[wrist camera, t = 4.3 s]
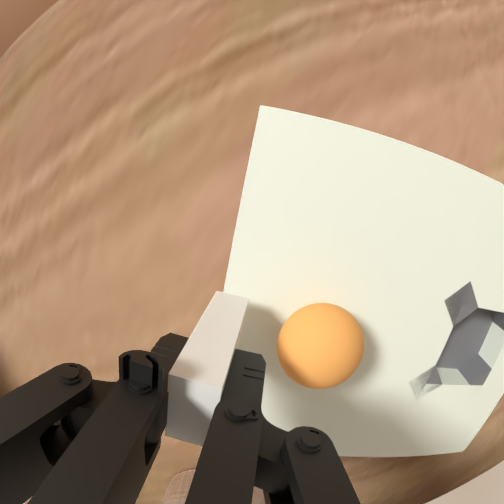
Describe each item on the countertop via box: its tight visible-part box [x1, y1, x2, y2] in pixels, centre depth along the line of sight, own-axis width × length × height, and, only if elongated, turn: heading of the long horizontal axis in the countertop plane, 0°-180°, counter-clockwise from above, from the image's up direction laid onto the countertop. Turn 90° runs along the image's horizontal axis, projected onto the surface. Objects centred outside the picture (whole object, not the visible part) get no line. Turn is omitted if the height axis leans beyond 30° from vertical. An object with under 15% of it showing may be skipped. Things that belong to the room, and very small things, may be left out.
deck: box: [224, 105, 504, 457], centre depth 16 cm, size 22×20×2 cm
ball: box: [277, 303, 364, 389], centre depth 14 cm, size 4×4×4 cm
